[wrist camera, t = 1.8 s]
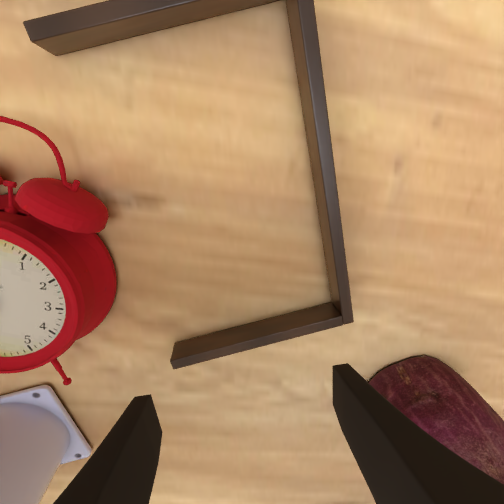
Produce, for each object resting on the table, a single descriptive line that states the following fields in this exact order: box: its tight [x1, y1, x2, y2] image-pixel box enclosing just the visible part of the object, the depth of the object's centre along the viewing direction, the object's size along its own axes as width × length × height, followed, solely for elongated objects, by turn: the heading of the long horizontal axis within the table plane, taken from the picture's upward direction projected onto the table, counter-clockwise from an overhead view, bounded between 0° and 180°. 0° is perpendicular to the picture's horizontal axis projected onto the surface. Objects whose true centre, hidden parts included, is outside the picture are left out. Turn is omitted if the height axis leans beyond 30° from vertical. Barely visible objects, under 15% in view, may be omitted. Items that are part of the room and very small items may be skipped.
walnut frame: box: [23, 0, 354, 369], centre depth 17 cm, size 13×21×2 cm, turn 13°
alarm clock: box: [0, 116, 117, 385], centre depth 16 cm, size 10×6×15 cm
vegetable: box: [369, 355, 504, 484], centre depth 19 cm, size 10×10×15 cm
